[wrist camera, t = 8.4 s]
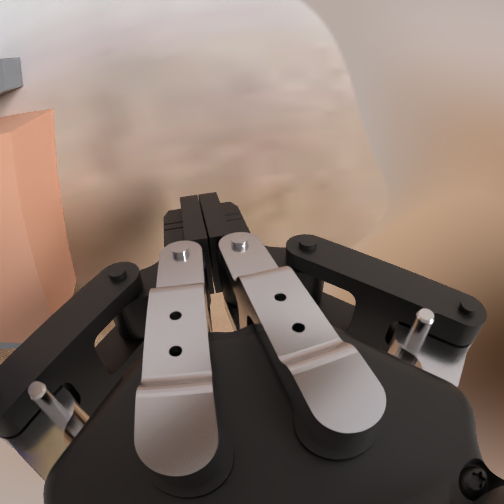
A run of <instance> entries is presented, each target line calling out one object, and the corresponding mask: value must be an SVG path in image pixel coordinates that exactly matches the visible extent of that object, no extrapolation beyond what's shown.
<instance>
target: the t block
mask: <svg viewBox="0 0 504 504" xmlns="http://www.w3.org/2000/svg"><path fill="white" fill-rule="evenodd" d="M76 282H77V280H76V276H75V272H74V267H73V263H72V258H71V254H70V249H69V244H68V238H67V233H66V227H65V221H64V215H63V208H62V202H61V194H60V186H59V178H58V168H57V157H56V143H55V124H54V109H48V110H41V111H34V112H28V113H22V114H17V115H11V116H6V117H1V118H0V342H4V343H23V342H24V341H25V340H26V339H27V338H28V337H29V336H30V335H31V334H32V333H33V332H34V331H35V330H36V329H38V328H39V327H40V326H41V325H42V324H43V323H44V322H45V321H46V320H47V319H48V318H49V317H50V316H51V315H53V314H54V313H55V312H56V311H57V310H58V309H59V308H60V307H61V306H62V305H64V304H65V303H66V302H67V301H68V300H69V299H70V298H71V297H72V296H73V293H74V289H75V285H76Z"/></svg>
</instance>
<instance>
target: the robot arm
mask: <svg viewBox="0 0 504 504" xmlns="http://www.w3.org/2000/svg"><path fill="white" fill-rule="evenodd" d="M180 203H181V209H177V210H170V211H168V212H167V214H166V215H165V216H164V248H163V249H162V250H161V252H160V257H159V261H158V262H157V263H156V264H154V265H152V266H150V267H148V268H145V269H143V270H140V271H139V268H138V267H137V265H135V264H133V263H130V262H119V263H115V264H112V265H110V266H108V267H106V268H105V269H104V270H103V271H101V272H100V273H99V274H98V275H97V276H95V277H94V278H93V279H92V280H91V281H90V282H88V283H87V284H86V285H85V286H84V287H83V288H82V289H80V290H79V291H78V292H77V293H76V294H75V295H74V296H72V297H71V298H70V299H69V300H68V301H67V302H66V303H65V304H64V305H62V306H61V307H60V308H59V309H58V310H57V311H56V312H55V313H54V314H53V315H51V316H50V317H49V318H48V319H47V320H46V321H45V322H44V323H43V324H42V325H41V326H40V327H39V328H38V329H36V330H35V331H34V332H33V333H32V334H31V335H30V336H29V337H28V338H27V339H26V340H25V341H24V342H23V343H22V344H21V345H20V346H19V347H18V348H17V349H16V350H15V351H14V352H13V353H12V354H11V355H10V356H9V357H8V358H7V359H6V360H5V361H4V362H3V363H2V364H1V365H0V438H1V439H3V440H4V441H5V442H6V443H7V444H9V445H10V446H11V447H13V448H14V449H15V450H16V451H17V452H18V453H19V454H20V455H21V456H22V457H23V459H24V460H25V461H26V462H27V463H28V464H29V465H30V466H31V467H32V468H33V469H34V470H35V471H36V472H37V473H38V474H39V475H40V476H41V477H42V478H43V479H44V480H45V485H44V504H504V480H503V479H501V478H499V477H498V476H496V475H495V474H493V473H492V472H491V471H490V470H489V469H488V468H487V466H486V465H485V464H484V462H483V459H482V456H481V453H480V450H479V446H478V442H477V435H476V425H475V416H474V412H473V409H472V407H471V404H470V402H469V401H468V399H467V397H466V396H465V395H464V393H463V392H462V391H461V390H460V389H459V388H458V384H459V381H460V377H461V373H462V370H463V366H464V362H465V358H466V353H467V351H468V349H469V348H470V346H471V345H472V343H473V341H474V339H475V338H476V336H477V334H478V333H479V331H480V329H481V328H482V326H483V324H484V322H485V320H486V317H487V314H486V310H485V308H484V307H483V305H482V304H481V303H480V302H479V301H478V300H477V299H476V298H474V297H472V296H470V295H468V294H465V293H463V292H460V291H458V290H456V289H453V288H451V287H448V286H446V285H443V284H441V283H438V282H436V281H433V280H431V279H428V278H426V277H423V276H421V275H418V274H416V273H413V272H411V271H408V270H405V269H403V268H400V267H398V266H395V265H393V264H390V263H387V262H385V261H382V260H379V259H377V258H374V257H371V256H369V255H366V254H363V253H361V252H358V251H356V250H353V249H350V248H347V247H345V246H342V245H339V244H337V243H334V242H331V241H328V240H326V239H323V238H320V237H317V236H314V235H305V234H304V235H297V236H294V237H291V238H290V239H289V240H288V241H287V243H286V248H279V247H268V246H264V245H263V243H262V242H261V240H260V239H259V237H257V236H256V235H254V234H251V233H250V231H249V229H248V227H247V225H246V223H245V221H244V219H243V217H242V214H241V212H240V210H239V208H238V206H236V205H234V204H233V203H231V202H225V203H220V201H219V199H218V196H217V193H216V192H214V193H206V194H199V200H198V196H197V195H193V196H186V197H180ZM212 278H213V280H212ZM324 281H325V282H327V283H330V284H332V285H335V286H337V287H339V288H342V289H344V290H346V291H349V292H350V293H351V294H352V295H353V296H354V297H355V300H356V305H355V306H354V305H351V304H349V303H347V302H344V301H342V300H340V299H338V298H335V297H333V296H331V295H328V294H326V293H324V292H323V285H324ZM213 282H214V286H215V291H216V293H219V292H223V295H224V303H225V309H226V312H227V314H228V317H229V319H230V322H231V325H232V327H233V330H234V332H213V328H212V319H211V310H210V304H211V297H210V294H213V293H214V288H213ZM112 320H114V322H115V325H116V326H115V327H114V328H113V329H112V330H111V331H110V332H109V333H108V334H107V335H106V336H105V337H104V339H103V340H102V341H101V342H100V343H99V344H98V345H97V346H96V347H94V343H95V339H96V337H97V336H98V334H99V333H100V332H101V331H102V330H103V329H104V328H105V327H106V326H107V325H108V324H109V323H110V322H111V321H112Z"/></svg>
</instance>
